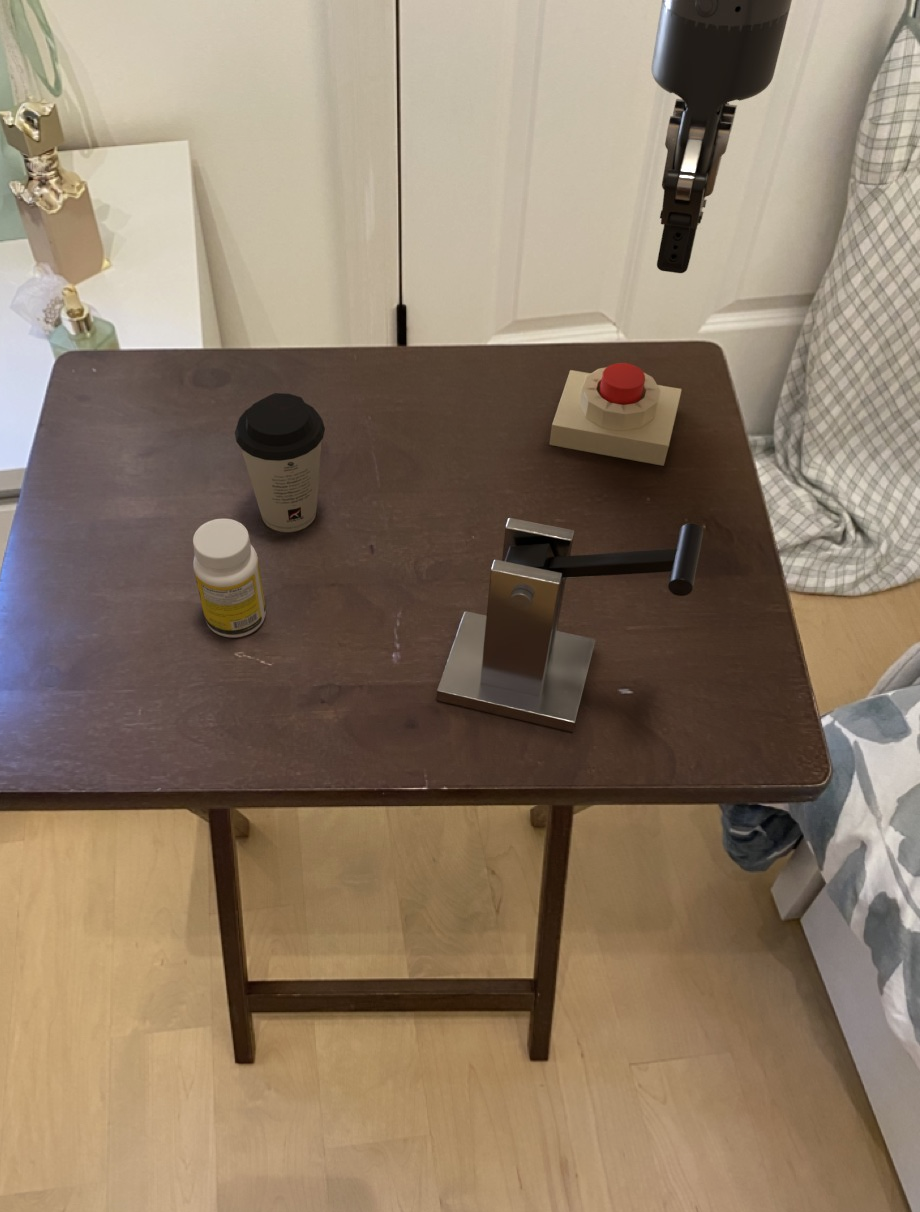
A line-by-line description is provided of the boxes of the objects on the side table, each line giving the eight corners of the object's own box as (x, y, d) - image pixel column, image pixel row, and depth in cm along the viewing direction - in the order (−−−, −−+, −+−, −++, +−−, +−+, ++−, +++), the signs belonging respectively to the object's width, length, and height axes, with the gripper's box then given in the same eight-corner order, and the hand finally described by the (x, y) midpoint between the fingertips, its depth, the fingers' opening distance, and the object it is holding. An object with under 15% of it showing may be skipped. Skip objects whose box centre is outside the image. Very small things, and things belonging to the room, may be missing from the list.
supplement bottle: (220, 587, 85) (204, 507, 79) (275, 601, 84) (264, 521, 78) (195, 631, 83) (176, 552, 76) (252, 646, 82) (238, 567, 75)
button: (644, 383, 94) (648, 366, 93) (638, 409, 92) (641, 391, 91) (603, 376, 95) (606, 359, 93) (596, 401, 93) (599, 384, 91)
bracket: (593, 649, 81) (621, 523, 71) (572, 732, 77) (599, 610, 66) (464, 621, 83) (473, 494, 73) (436, 700, 78) (441, 577, 68)
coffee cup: (316, 549, 88) (308, 451, 80) (235, 534, 89) (219, 436, 81) (340, 492, 92) (335, 393, 84) (262, 478, 93) (249, 380, 85)
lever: (706, 545, 68) (700, 515, 67) (695, 601, 65) (689, 572, 64) (523, 558, 74) (514, 531, 72) (506, 610, 71) (496, 584, 69)
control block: (676, 409, 98) (686, 371, 94) (663, 466, 93) (673, 428, 90) (567, 390, 99) (572, 352, 96) (549, 445, 95) (554, 407, 92)
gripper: (781, 46, 60) (713, 325, 74) (801, -41, 68) (735, 227, 82) (646, 33, 62) (604, 308, 76) (679, -50, 69) (635, 214, 83)
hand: (672, 266), depth 79 cm, fingers closed
